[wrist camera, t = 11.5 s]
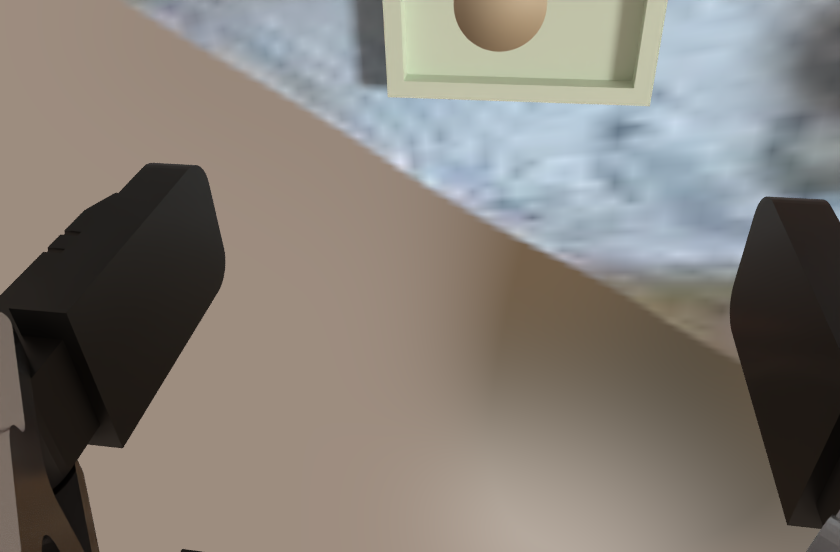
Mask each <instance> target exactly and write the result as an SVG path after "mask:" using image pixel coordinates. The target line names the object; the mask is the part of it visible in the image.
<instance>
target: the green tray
mask: <svg viewBox="0 0 840 552" xmlns="http://www.w3.org/2000/svg"><path fill="white" fill-rule="evenodd" d="M667 2H668V0H547V11H546V15H545V19H544V21H543V24H542V26H541V28H540V29H539V31H538V32H537V34H536V35H535V36H534V37H533V38H532V39H531V40H530V41H528V42H527V43H526V44H524V45H523V46H521V47H519V48H516V49H513V50H510V51H504V52H495V51H489V50H485V49H482V48H480V47H478V46H476V45H475V44H473V43H472V42H471V41H470V40H468V39H467V38H466V36H465V35H464V34H463V33H462V31H461V30H460V28H459V26H458V24H457V21H456V19H455V14H454V0H383V18H384V36H385V54H386V72H387V90H388V97H401V98H430V99H459V100H488V101H517V102H547V103H576V104H605V105H634V106H650V101H651V95H652V89H653V84H654V78H655V72H656V66H657V60H658V54H659V48H660V43H661V37H662V31H663V25H664V19H665V13H666V8H667Z"/></svg>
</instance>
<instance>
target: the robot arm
mask: <svg viewBox="0 0 840 552" xmlns="http://www.w3.org/2000/svg"><path fill="white" fill-rule="evenodd" d="M224 271H225V252H224V247H223V242H222V238H221V234H220V230H219V225H218V221H217V217H216V212H215V208H214V203H213V199H212V195H211V190H210V186H209V182H208V178H207V176H206V174H205V172H204V170H203V169H202V168H201V167H199V166H197V165H182V164H181V165H180V164H163V163H149V164H146V165H145V166H144V167H143V168H142V169H141V170H140V171H139V172H138V173H137V174H136V175H135V176H134V177H133V178H132V179H131V180H130V181H129V183H128V184H127V185H126V186H125V187H124V188H123V189H122V190H121V191H120V192H119V193H115V194H112V195H111V196H109V197H107V198H105V199H104V200H102V201H100V202H98V203H96V204H95V205H93V206H91V207H89V208H88V209H86V210H84V211H83V213H81V214H80V216H78V217H77V219H75V220H74V222H73V223H72V224H71V225H70V226H69V227H68V228H67V229H66V230H65V234H64V235H60V236H59V237H58V238H57V239H56V240H55V241H54V242H53V243H52V244H51V245H50V246H49V247H48V252H43V253H42V254H41V255H40V256H39V257H38V258H37V259H36V260H35V261H34V262H33V263H32V264H31V265H30V266H29V267H28V268H27V269H26V270H25V271H24V272H23V273H22V274H21V275H20V276H19V277H18V278H17V279H16V280H15V281H14V282H13V283H12V284H11V285H10V286H9V287H8V288H7V289H6V290H5V291H4V292H3V293H2V294H1V295H0V552H99V547H98V542H97V537H96V532H95V527H94V522H93V517H92V512H91V507H90V502H89V497H88V493H87V488H86V483H85V478H84V473H83V471H82V468H81V466H80V464H79V462H78V460H77V459H78V458H79V456H80V455H81V453H82V452H83V450H84V449H85V447H86V446H87V444H90V445H98V446H107V447H117V448H123V447H124V445H125V444H126V442H127V440H128V439H129V437H130V436H131V434H132V432H133V431H134V429H135V427H136V426H137V424H138V422H139V421H140V419H141V418H142V416H143V414H144V413H145V411H146V409H147V408H148V406H149V404H150V403H151V401H152V399H153V398H154V396H155V395H156V393H157V391H158V389H159V388H160V386H161V385H162V383H163V381H164V379H165V378H166V377H167V375H168V373H169V372H170V370H171V368H172V367H173V365H174V363H175V362H176V360H177V358H178V357H179V355H180V354H181V352H182V350H183V349H184V347H185V345H186V343H187V342H188V340H189V339H190V337H191V335H192V334H193V332H194V331H195V329H196V327H197V325H198V324H199V322H200V321H201V319H202V317H203V316H204V314H205V312H206V311H207V309H208V308H209V306H210V304H211V303H212V301H213V299H214V297H215V296H216V294H217V293H218V291H219V289H220V287H221V284H222V281H223V277H224ZM730 324H731V330H732V334H733V338H734V341H735V345H736V348H737V352H738V355H739V359H740V362H741V366H742V369H743V372H744V375H745V380H746V383H747V386H748V390H749V393H750V397H751V400H752V404H753V407H754V410H755V414H756V418H757V421H758V425H759V428H760V431H761V435H762V439H763V442H764V446H765V449H766V453H767V456H768V459H769V463H770V467H771V470H772V473H773V477H774V480H775V484H776V487H777V490H778V494H779V498H780V501H781V504H782V508H783V512H784V515H785V519H786V522H787V525H791V526H801V527H810V528H818V529H821V530H820V532H819V533H818V535H817V536H816V538H815V539H814V541H813V542H812V544H811V545H810V547H809V548H808V550H807V551H806V552H840V221H839V220H838V218H837V216H836V214H835V213H834V211H833V209H832V207H831V206H830V204H829V203H828V202H827V201H826V200H822V199H803V198H784V197H764V198H763V199H762V200H761V201H760V203H759V204H758V206H757V209H756V211H755V214H754V218H753V221H752V225H751V228H750V231H749V235H748V238H747V241H746V245H745V248H744V251H743V255H742V258H741V262H740V265H739V268H738V272H737V275H736V278H735V282H734V285H733V289H732V294H731V301H730ZM181 552H200V551H193V550H185V549H182V550H181Z"/></svg>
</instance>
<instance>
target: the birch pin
mask: <svg viewBox="0 0 840 552" xmlns="http://www.w3.org/2000/svg"><path fill="white" fill-rule="evenodd" d="M546 11H547V0H454V14H455V19H456V21H457V24H458V26H459V28H460V30H461V31H462V33H463V34H464V35H465V36H466V38H467V39H468V40H470V41H471V42H472V43H473V44H475V45H476V46H478V47H480V48H482V49H485V50H489V51H495V52H504V51H510V50H513V49H516V48H519V47H521V46H523V45H524V44H526V43H527V42H528V41H530V40H531V39H532V38H533V37H534V36H535V35H536V34H537V32H538V31H539V29H540V28H541V26H542V24H543V21H544V19H545V15H546Z"/></svg>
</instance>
